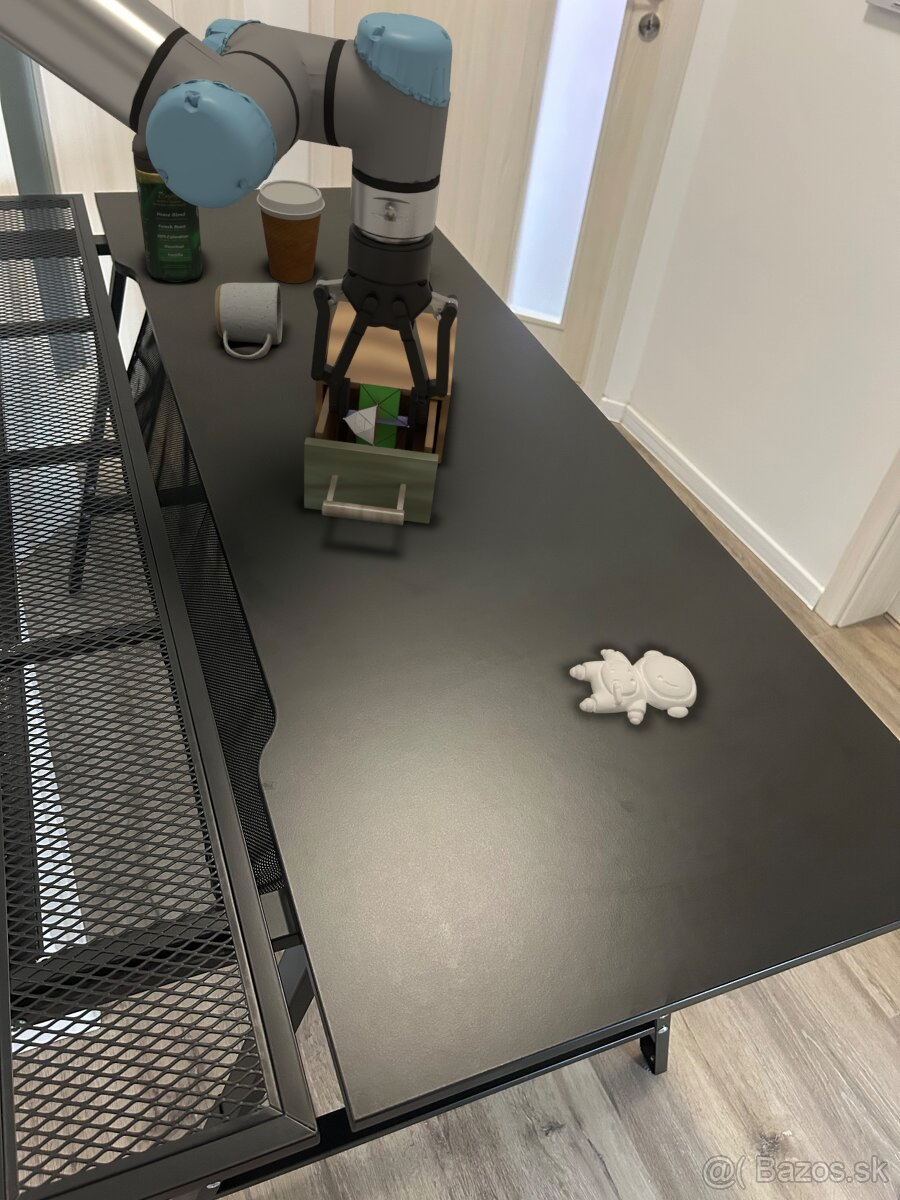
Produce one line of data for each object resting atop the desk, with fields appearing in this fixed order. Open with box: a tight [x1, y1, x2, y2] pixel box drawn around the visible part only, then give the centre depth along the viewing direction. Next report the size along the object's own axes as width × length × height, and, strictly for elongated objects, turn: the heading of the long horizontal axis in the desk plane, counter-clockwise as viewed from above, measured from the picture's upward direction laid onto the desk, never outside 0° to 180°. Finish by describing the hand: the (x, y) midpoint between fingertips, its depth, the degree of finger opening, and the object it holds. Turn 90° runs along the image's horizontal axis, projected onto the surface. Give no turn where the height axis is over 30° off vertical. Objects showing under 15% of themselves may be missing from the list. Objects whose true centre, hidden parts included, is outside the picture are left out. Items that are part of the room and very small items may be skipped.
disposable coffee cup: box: [256, 179, 326, 284], centre depth 124 cm, size 10×10×12 cm
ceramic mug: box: [214, 282, 284, 360], centre depth 110 cm, size 11×8×8 cm
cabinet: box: [314, 300, 458, 464], centre depth 102 cm, size 18×15×10 cm
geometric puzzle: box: [343, 383, 409, 449], centre depth 90 cm, size 7×7×8 cm
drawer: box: [303, 386, 439, 526], centre depth 91 cm, size 22×13×8 cm, turn 177°
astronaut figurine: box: [569, 648, 697, 725], centre depth 78 cm, size 9×12×3 cm
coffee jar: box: [131, 133, 203, 283], centre depth 118 cm, size 10×8×19 cm
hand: (375, 441), depth 92 cm, fingers closed on geometric puzzle, 6 cm apart
